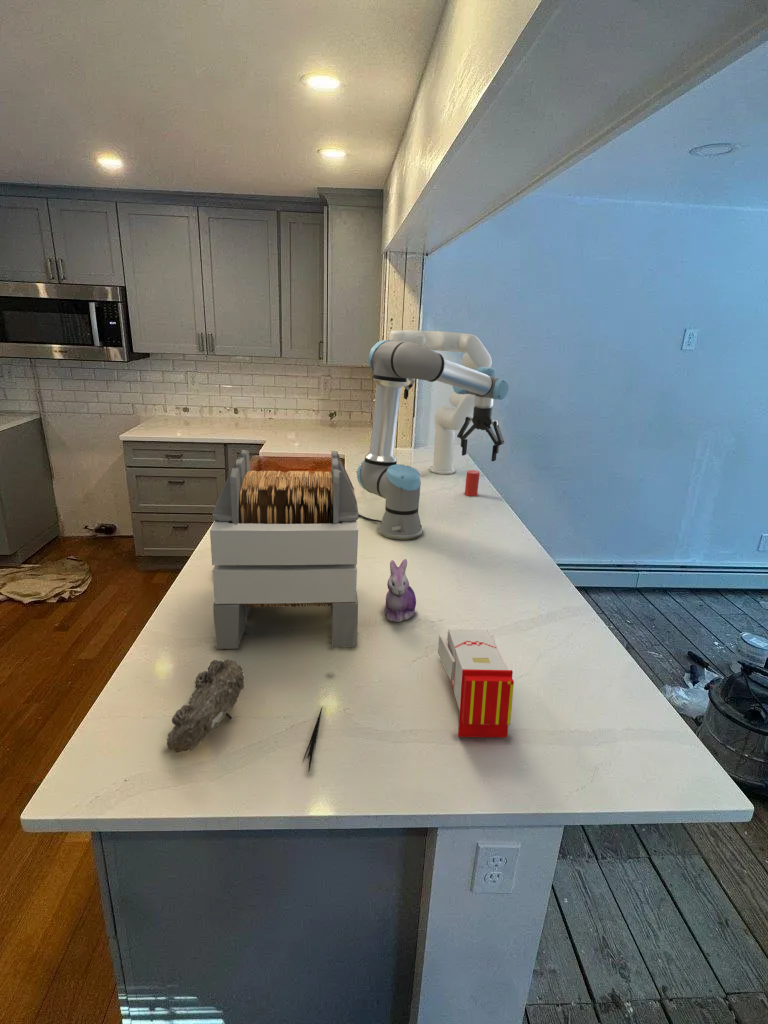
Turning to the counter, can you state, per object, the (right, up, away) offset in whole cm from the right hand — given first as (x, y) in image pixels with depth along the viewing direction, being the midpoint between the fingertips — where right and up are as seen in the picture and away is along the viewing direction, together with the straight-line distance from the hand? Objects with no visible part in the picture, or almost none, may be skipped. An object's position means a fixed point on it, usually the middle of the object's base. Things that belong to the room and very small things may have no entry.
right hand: (395, 398), depth 255 cm
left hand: (+34, -28, -20) cm, 49 cm away
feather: (-17, -91, -147) cm, 173 cm away
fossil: (-38, -90, -147) cm, 177 cm away
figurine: (-1, -78, -108) cm, 133 cm away
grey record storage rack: (-29, -77, -110) cm, 137 cm away
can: (+33, -43, -9) cm, 55 cm away
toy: (+13, -89, -137) cm, 163 cm away
